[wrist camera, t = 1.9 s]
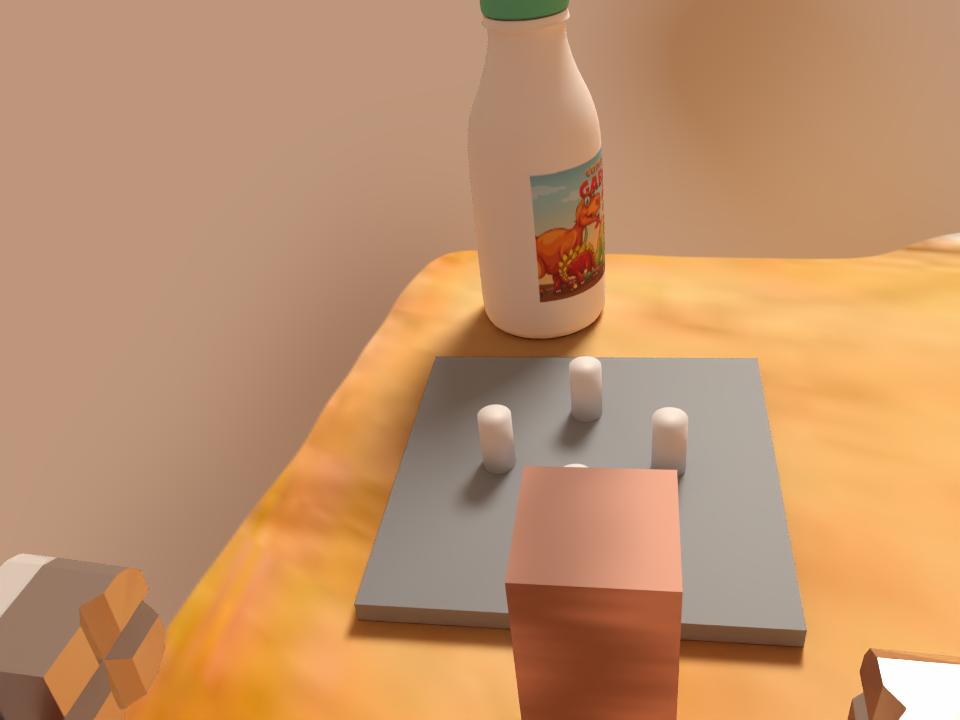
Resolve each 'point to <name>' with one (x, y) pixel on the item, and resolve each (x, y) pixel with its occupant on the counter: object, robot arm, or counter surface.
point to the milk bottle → (536, 175)
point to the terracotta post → (596, 593)
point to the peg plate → (482, 507)
